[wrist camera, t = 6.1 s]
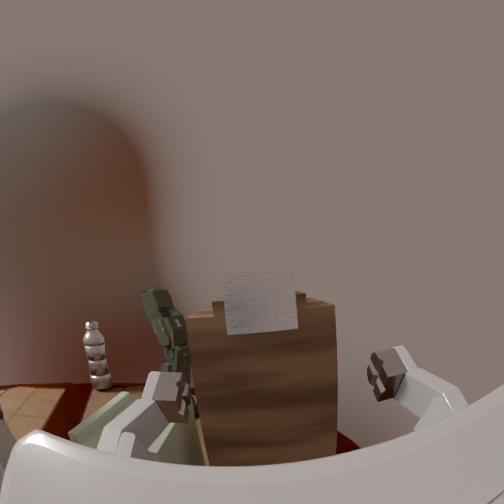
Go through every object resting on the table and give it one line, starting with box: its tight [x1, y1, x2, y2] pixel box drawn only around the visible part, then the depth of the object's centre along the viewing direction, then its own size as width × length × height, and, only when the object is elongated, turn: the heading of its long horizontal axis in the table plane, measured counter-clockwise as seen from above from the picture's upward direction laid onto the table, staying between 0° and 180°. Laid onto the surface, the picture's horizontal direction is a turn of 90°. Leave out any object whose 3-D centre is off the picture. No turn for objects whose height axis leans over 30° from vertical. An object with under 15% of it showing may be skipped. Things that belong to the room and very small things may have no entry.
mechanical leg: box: [140, 288, 199, 418], centre depth 54 cm, size 14×7×30 cm, turn 54°
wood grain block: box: [186, 291, 338, 466], centre depth 25 cm, size 10×12×27 cm
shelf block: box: [68, 392, 205, 466], centre depth 20 cm, size 12×9×16 cm
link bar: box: [222, 268, 298, 335], centre depth 23 cm, size 19×4×3 cm, turn 179°
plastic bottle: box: [83, 322, 112, 390], centre depth 63 cm, size 6×7×20 cm
